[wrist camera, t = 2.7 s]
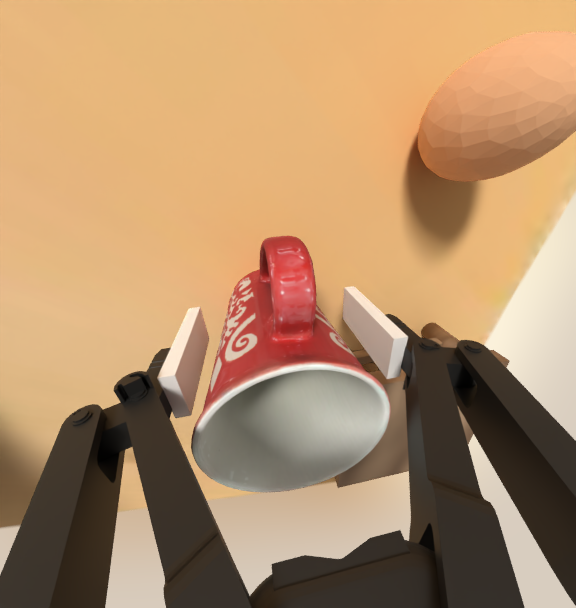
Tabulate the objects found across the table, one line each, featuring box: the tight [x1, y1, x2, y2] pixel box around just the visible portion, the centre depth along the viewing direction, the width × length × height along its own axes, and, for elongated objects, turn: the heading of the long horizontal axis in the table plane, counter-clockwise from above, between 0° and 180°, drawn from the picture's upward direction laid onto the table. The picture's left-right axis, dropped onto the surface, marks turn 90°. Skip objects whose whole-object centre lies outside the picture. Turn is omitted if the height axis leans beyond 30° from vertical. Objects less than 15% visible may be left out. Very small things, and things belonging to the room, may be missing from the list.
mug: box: [191, 236, 391, 492], centre depth 15 cm, size 13×9×14 cm
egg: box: [418, 31, 576, 182], centre depth 14 cm, size 7×7×9 cm
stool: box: [335, 323, 509, 487], centre depth 26 cm, size 15×15×8 cm
